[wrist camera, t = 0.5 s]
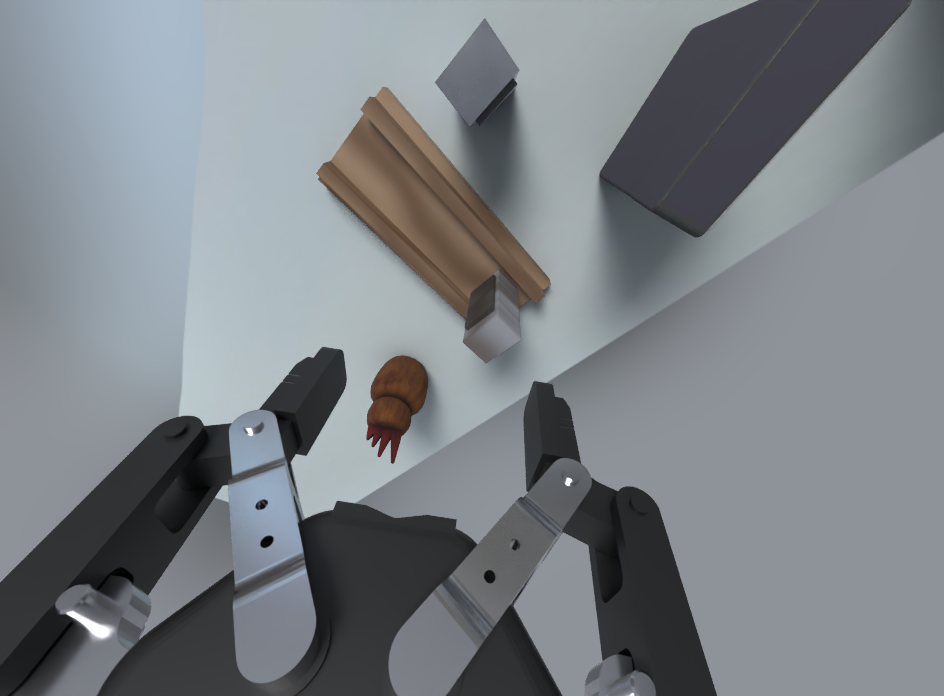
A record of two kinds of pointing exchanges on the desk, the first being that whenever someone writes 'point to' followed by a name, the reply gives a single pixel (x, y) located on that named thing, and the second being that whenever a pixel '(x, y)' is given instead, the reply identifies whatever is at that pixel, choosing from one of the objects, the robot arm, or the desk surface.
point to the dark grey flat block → (740, 101)
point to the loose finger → (479, 76)
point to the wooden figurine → (395, 401)
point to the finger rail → (435, 223)
